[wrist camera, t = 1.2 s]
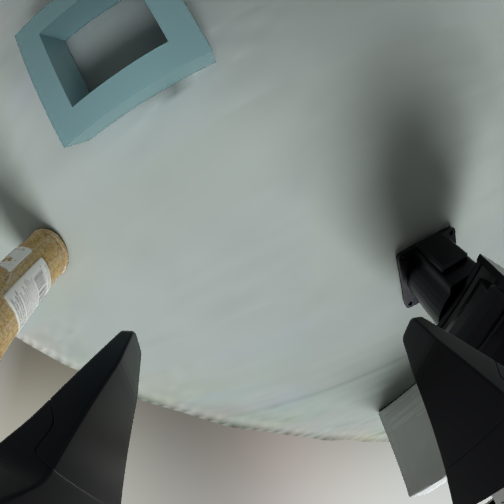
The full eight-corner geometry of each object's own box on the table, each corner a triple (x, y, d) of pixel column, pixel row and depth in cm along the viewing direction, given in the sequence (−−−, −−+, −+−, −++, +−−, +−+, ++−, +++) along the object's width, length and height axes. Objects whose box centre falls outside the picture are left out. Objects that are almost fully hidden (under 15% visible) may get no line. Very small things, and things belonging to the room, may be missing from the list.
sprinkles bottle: (35, 217, 19) (-73, 316, 7) (76, 243, 20) (-20, 365, 8) (27, 258, 20) (-58, 360, 8) (64, 283, 22) (-10, 401, 10)
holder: (216, 61, 15) (212, 50, 12) (89, 140, 17) (64, 147, 13) (155, -38, 11) (143, -59, 8) (41, 41, 12) (14, 36, 9)
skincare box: (396, 416, 37) (426, 494, 23) (374, 411, 35) (406, 501, 21) (436, 385, 34) (476, 463, 20) (419, 376, 32) (464, 467, 18)
